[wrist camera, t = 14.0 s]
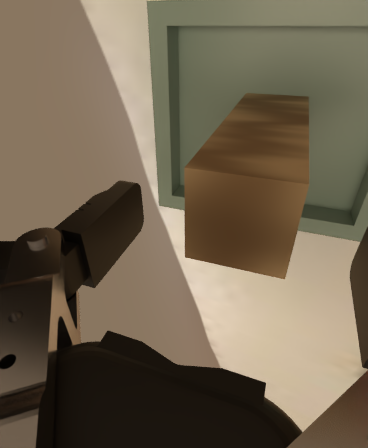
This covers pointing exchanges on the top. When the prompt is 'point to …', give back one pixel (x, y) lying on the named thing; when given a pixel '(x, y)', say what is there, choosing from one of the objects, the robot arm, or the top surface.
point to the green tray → (266, 91)
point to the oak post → (250, 186)
